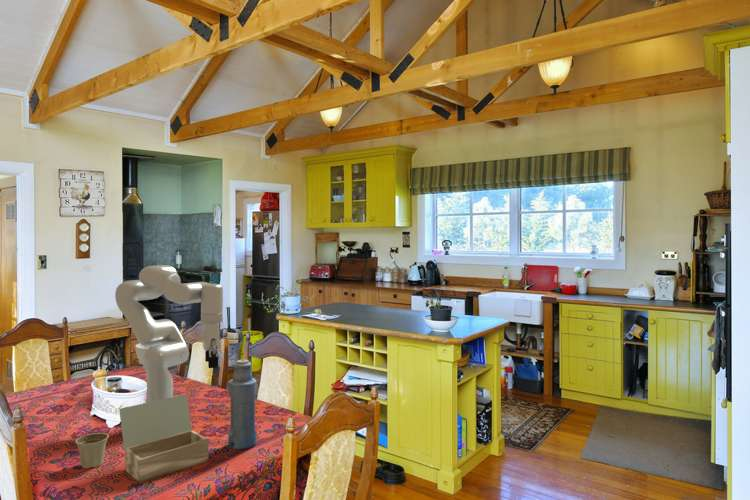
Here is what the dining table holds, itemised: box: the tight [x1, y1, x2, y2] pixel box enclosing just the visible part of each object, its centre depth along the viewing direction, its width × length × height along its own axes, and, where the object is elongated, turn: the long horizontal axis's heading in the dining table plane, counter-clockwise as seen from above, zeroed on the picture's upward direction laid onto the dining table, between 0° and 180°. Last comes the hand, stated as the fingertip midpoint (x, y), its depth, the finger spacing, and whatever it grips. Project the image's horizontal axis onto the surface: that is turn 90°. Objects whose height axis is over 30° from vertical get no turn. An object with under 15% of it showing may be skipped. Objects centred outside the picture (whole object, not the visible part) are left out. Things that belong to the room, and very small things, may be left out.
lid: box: [118, 393, 193, 450], centre depth 172 cm, size 12×22×1 cm
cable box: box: [124, 429, 210, 484], centre depth 166 cm, size 12×22×7 cm, turn 135°
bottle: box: [227, 359, 258, 450], centre depth 182 cm, size 10×10×30 cm
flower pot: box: [74, 432, 110, 469], centre depth 167 cm, size 9×9×9 cm
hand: (211, 364), depth 188 cm, fingers open, 9 cm apart
